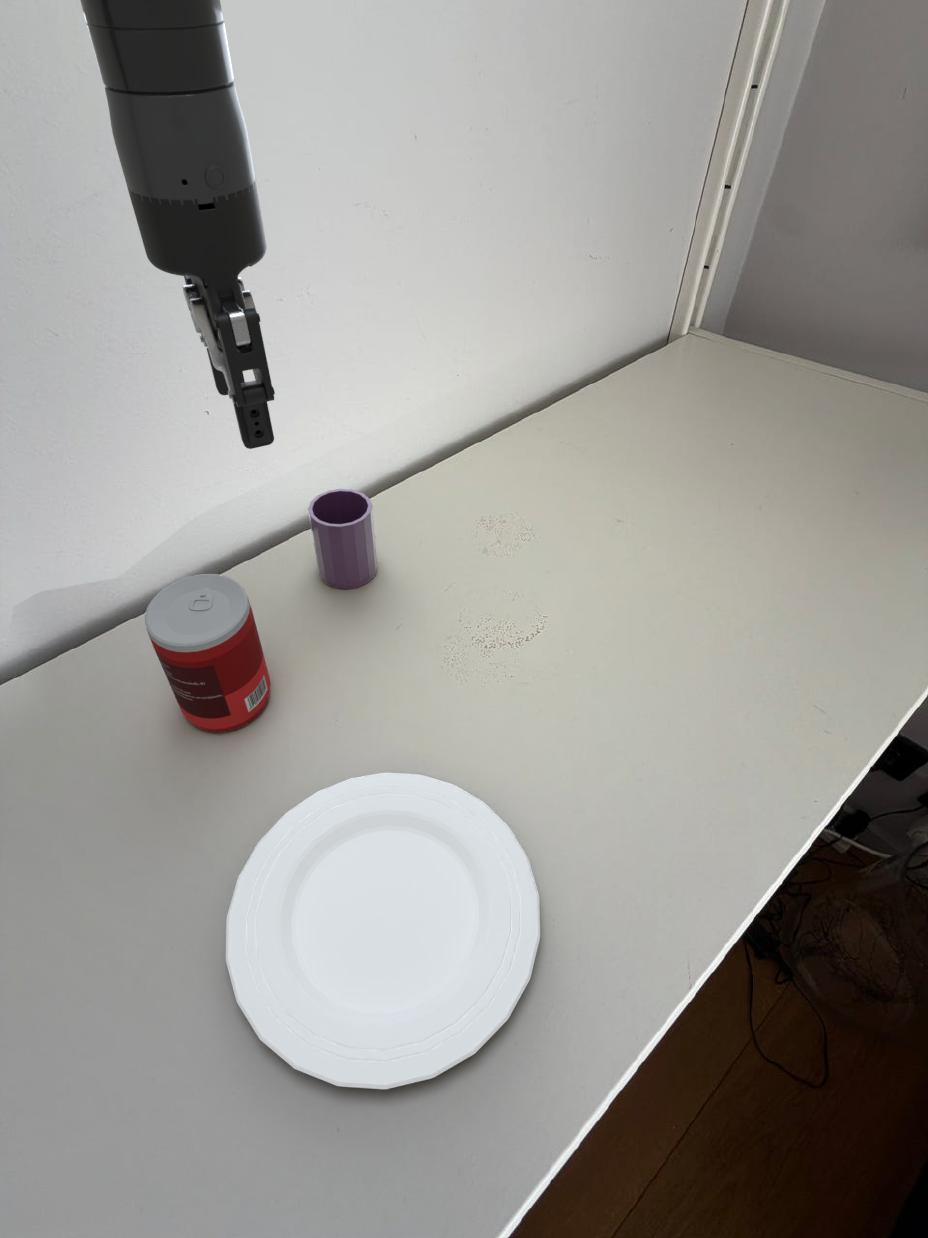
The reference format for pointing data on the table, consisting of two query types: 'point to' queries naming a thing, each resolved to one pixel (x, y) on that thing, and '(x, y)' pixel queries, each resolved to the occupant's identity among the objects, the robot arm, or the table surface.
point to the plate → (382, 930)
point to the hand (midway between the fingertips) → (245, 416)
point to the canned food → (210, 651)
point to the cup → (343, 538)
